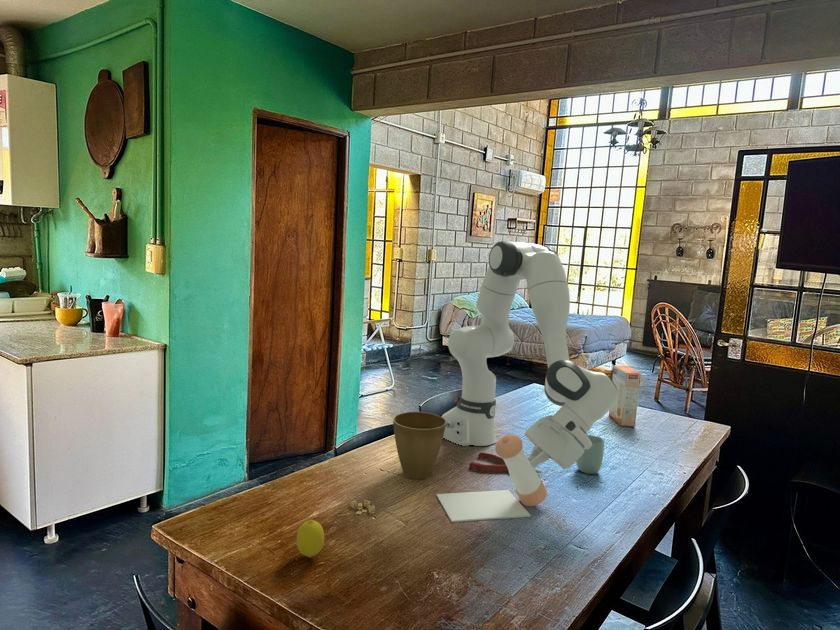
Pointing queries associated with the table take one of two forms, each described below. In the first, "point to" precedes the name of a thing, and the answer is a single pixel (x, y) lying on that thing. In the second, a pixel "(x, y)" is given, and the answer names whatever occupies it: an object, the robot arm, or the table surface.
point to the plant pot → (418, 441)
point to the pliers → (491, 468)
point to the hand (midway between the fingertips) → (529, 464)
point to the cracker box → (625, 395)
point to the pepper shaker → (521, 471)
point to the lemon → (310, 538)
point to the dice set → (366, 504)
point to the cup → (592, 456)
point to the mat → (481, 505)
